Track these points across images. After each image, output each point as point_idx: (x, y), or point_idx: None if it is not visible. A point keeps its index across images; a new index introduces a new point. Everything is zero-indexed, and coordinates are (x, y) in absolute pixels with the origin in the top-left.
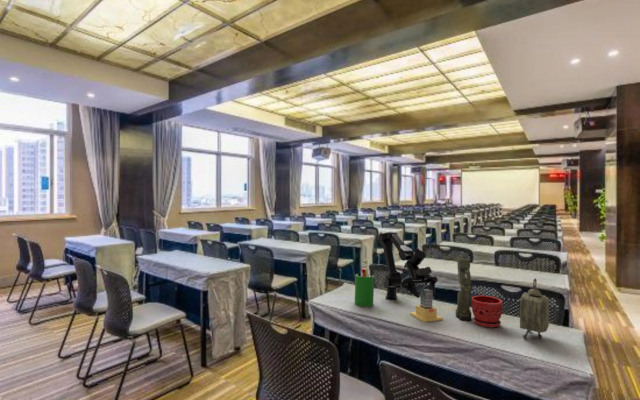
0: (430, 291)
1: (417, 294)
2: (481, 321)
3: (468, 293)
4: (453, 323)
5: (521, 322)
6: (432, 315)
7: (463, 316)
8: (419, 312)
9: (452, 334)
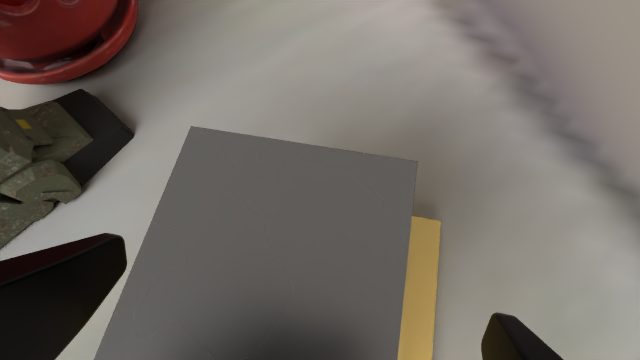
0: (259, 143)
1: (553, 354)
2: (117, 1)
3: None
4: (238, 115)
5: None
6: None
7: (81, 126)
8: None
9: (404, 12)
